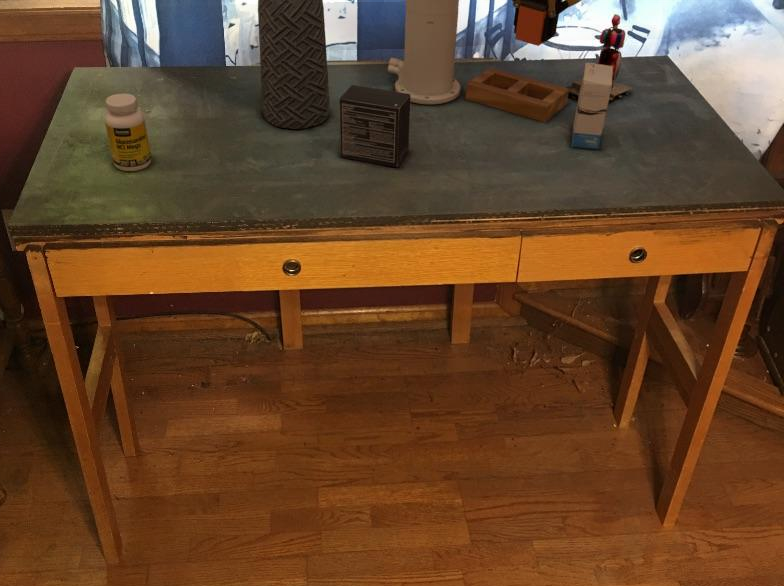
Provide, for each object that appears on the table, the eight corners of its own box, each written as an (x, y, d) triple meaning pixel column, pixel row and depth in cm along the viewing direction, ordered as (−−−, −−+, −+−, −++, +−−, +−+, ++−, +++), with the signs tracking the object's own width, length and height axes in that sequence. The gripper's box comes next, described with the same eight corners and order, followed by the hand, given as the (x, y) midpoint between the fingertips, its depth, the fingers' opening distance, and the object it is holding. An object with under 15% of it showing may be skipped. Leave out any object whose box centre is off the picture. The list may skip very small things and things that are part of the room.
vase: (251, 122, 154) (235, -48, 135) (282, 96, 162) (271, -68, 143) (312, 135, 151) (305, -37, 132) (340, 108, 159) (337, -58, 140)
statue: (589, 85, 172) (608, 5, 163) (629, 98, 167) (651, 17, 158) (558, 94, 165) (575, 11, 156) (599, 109, 160) (620, 24, 151)
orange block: (514, 39, 142) (520, 1, 138) (527, 31, 145) (533, -6, 141) (538, 46, 141) (544, 8, 137) (550, 38, 143) (557, 0, 139)
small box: (410, 151, 148) (412, 92, 140) (398, 169, 143) (400, 108, 136) (352, 141, 150) (352, 82, 143) (339, 157, 145) (338, 98, 138)
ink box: (599, 150, 149) (613, 84, 141) (570, 147, 150) (582, 81, 142) (600, 128, 155) (613, 64, 147) (572, 125, 156) (584, 61, 148)
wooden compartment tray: (545, 122, 157) (547, 106, 155) (465, 99, 163) (466, 83, 161) (566, 104, 162) (569, 88, 160) (488, 82, 169) (490, 67, 167)
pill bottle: (119, 175, 140) (105, 110, 132) (109, 159, 144) (95, 95, 136) (156, 167, 142) (145, 103, 134) (146, 151, 146) (134, 88, 138)
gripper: (613, -81, 129) (589, 41, 141) (515, -103, 135) (500, 16, 148) (591, -70, 124) (568, 56, 137) (491, -93, 131) (478, 29, 144)
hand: (533, 34), depth 142 cm, fingers closed on orange block, 4 cm apart
